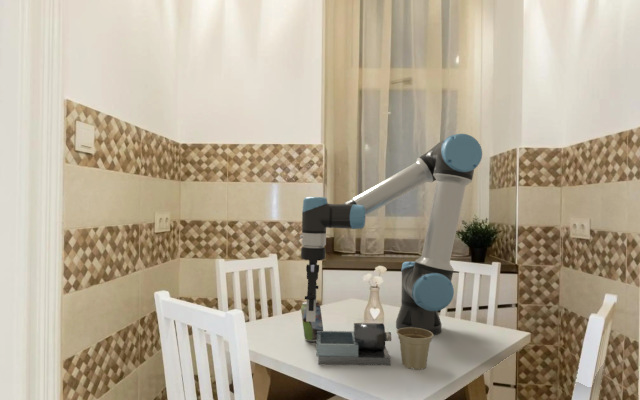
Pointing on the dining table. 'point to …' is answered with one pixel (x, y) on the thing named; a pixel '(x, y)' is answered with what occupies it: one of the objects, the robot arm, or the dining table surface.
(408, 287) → the robot arm
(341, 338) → the motor housing
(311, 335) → the beverage can
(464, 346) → the dining table surface
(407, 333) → the flower pot
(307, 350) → the dining table surface
